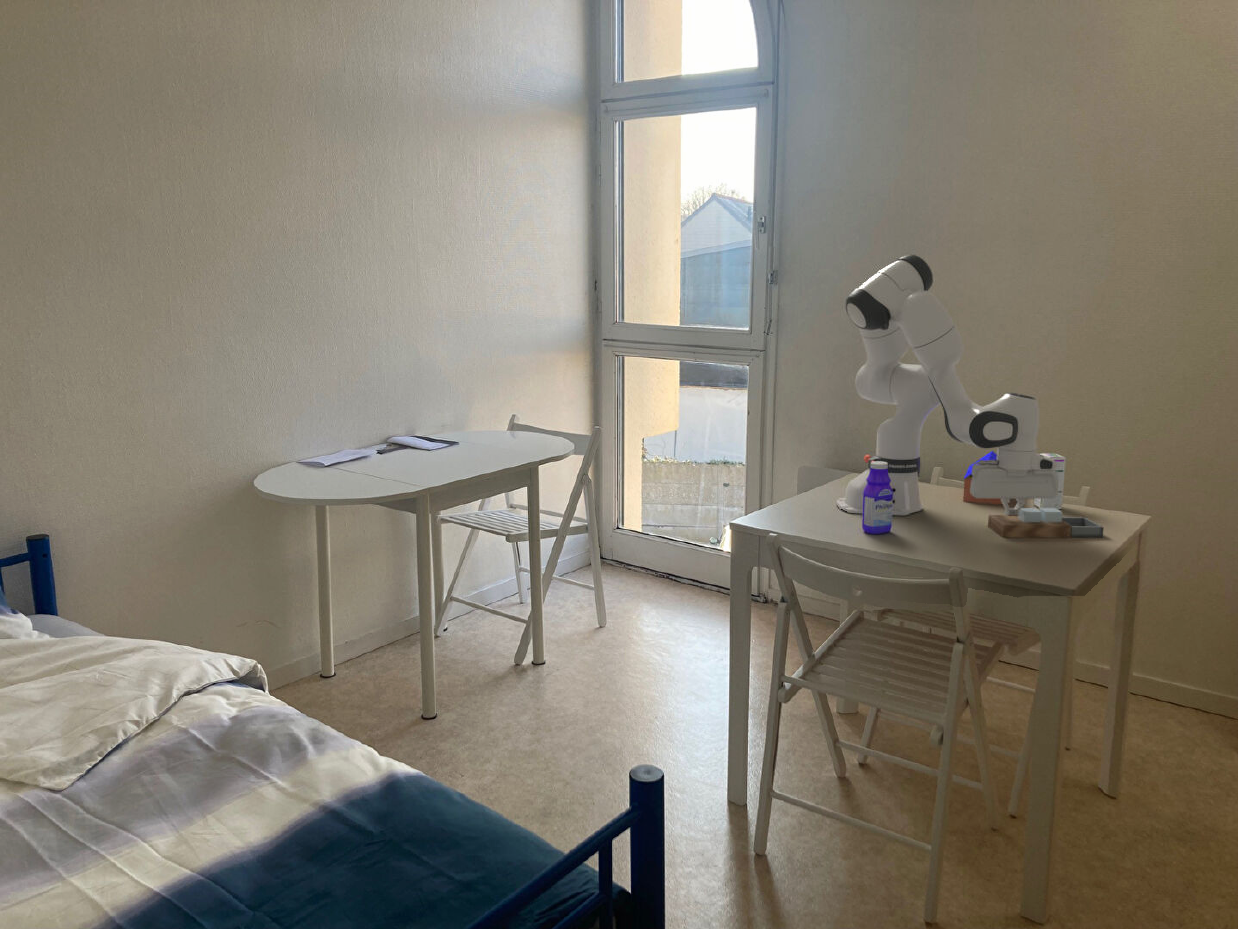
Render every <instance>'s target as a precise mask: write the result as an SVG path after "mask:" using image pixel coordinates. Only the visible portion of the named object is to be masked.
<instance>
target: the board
mask: <svg viewBox="0 0 1238 929" xmlns="http://www.w3.org/2000/svg"><path fill="white" fill-rule="evenodd" d="M987 522H988V523H987V527H988V528H989V529H990V530H992V531H993V532H995V533H996V534H997V535H999V536H1000V537H1002V538H1071V537H1070V533H1071V525H1070V524H1068V523H1066V522H1065V521H1063V520H1062V522H1044V521H1042V520H1041V522H1023V521H1022V520H1020V519H1018V516H1006V515H1005V514H988V520H987Z"/></svg>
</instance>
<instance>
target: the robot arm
mask: <svg viewBox="0 0 1238 929" xmlns="http://www.w3.org/2000/svg"><path fill="white" fill-rule="evenodd" d="M933 282H934V275H933V272H932V269H931V267H930V266H929V264H928V263H927V262H926V261H925V260H924V258H921V257H920V256H918V255H916V254H908V255H907V254H906V255H904V256H902V257H899V258H897V259H896V260H895V262H892V263H890V264H888V265H887V266H885V267H883V268H882V269H880V270H879V271H877V272H876V273H875V274H874V275H873V276H871V277H870V278H868V280H866V281H865V282H864V283H862V284H861V285H860V286H859V287H858V288H855V289H854V290H853V291H852V292H851V293H850V294H849V296H848V297H847V298H846V300H845V310H846V313H847V317H849V319H850V321H851V322H852V323H853V324H854V325H855V326H856V327H858V330H859V333H860V336H861V340H862V342H863V346H864V349H865V352H866V353H865V354H866V361H865V363H864V364H863V365H862V366H861V367H860V368H859V369H858V371H857V373H856V375H855V380H854V383H855V386H854V387H855V390H856V392H857V394H858V396H859V397H861V398H862V399H865V400H868V401H870V402H874V403H876V404H887V405H896V410H895V413H894V415H893V416H892V417H890V418H888V419H886V420H884V421H883V422H881V424H880V425H879V426H878V428H877V433H876V453H875V454H874V455H872V456H871V455H870V454H865V455H864V457H863V461H864V463H867V467H868V468H867V469H866V470H864V471H863V472H862V473H860V474H859V475H857V476H856V477H855V478H852V479H851V480H850V481H849V482H848V484H847V486H846V489H845V493H844V494H845V495H844V497H840V498H838V499H836V503H837V505H838V507H839V508H838V507H837V508H838V509H839V510H841V509H843V510H845V511H847V512H846V513H850V514H861V515H863V492H864V489H865V487H866V485H867V481H866V479H867V478H868V476H869V473H870V466H871V462H874V461H883V462H887V463H888V475H889V478H890V479H891V482H890V486H891V488H892V490H893V506H892V516H909V515H911V514H912V513H913V514H914V513H916V512H920V511H922V510H923V506H922V502H921V496H920V486H919V478H920V474H921V464H922V463H921V457H920V445H921V435H922V429H923V427H924V423H925V421H926V419H927V418H928V416H929V415H930V414H931V412H933V410H935V409H936V408H937V407H938V406H939V407H940V405H941V407H942V410H943V415H944V426H945V430H946V432H947V435H948V436H950V437H951V439H953V440H954V441H956V442H960V443H965V444H968V445H970V446H972V447H973V446H974V447H976V448H980V449H993V448H997V450H996V454H997V460H987V461H985V460H979V459H978V460H979V461H978V460H977V461H978V462H976V461H975V462H976V463H975V462H974V463H975V464H974V465H973V466H972V476H973V477H972V481H971V487H970V493H971V494H972V495H973V496H974V497H975V498H1001V502H1002V504H1003V505H1002V506H1003V507H1004V515H1006V516H1019V513H1020V509H1021V508H1023V507H1024V505H1025V504H1026V500H1027V499H1054V498H1055V497H1056V496H1057V495H1058V491H1059V479H1058V474H1057V472H1056V471H1055V469H1056V468H1057V462H1056V461H1054V460H1052V459H1050V458H1048V457H1045V456H1043V455H1040V454H1041V453H1037V452H1038V446H1037V436H1038V434H1039V429H1040V428H1039V427H1040V406H1039V402H1038V400H1037V399H1036V398H1035V397H1033V396H1030V395H1026V394H1021V393H1016V392H1006V393H1004V394H1003V396H1001V397H1000V398H998V399H997V400H995V401H994V402H991V403H988V404H986V405H979V404H977V403H976V402H974V401H973V400H972V399H971V398H970V397H969V396H968V394H967V392H966V390H965V389H964V386H963V384H962V382H961V380H960V377H959V375H958V374H957V370H956V365H957V364H958V363H959V362H960V360H961V359H962V357H963V354H964V350H965V349H964V348H965V346H964V342H963V339H962V335H961V333H960V332H959V329H958V327H957V326H956V324H955V323H954V320H953V319H952V316H950V314H949V312H948V310H947V309H946V308H945V307H944V305H943V304H942V303H941V301H940V300H939V298H937V297H936V295H934V293H932V292H931V291H929V290H930V289H931V287H932V286H933ZM909 349H911V351H912V353H913V354H914V356H915V357H916V359H917V361H918V362H919V363H920V364H912V363H910V364H909V363H903V362H901V361H900V360H901V358H903V357H904V356H905V355H906V354H907V353H908V351H909ZM976 464H980V465H976ZM985 464H988V465H985ZM1011 499H1016V500H1015V501H1016V502H1017V503H1015V504H1016V505H1015V506H1014V507H1010V506H1009V504H1010V502H1011ZM837 505H836V506H837ZM843 510H842V511H843ZM845 511H844V512H845Z"/></svg>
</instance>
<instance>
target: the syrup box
mask: <svg viewBox="0 0 1238 929" xmlns="http://www.w3.org/2000/svg"><path fill="white" fill-rule="evenodd" d="M1039 454H1040V455H1043V456H1045V457H1048V458H1050V459H1052V460H1054V461H1056V462H1057V468H1056V469H1055V471H1056V472H1057V474H1058V479H1059V491H1058V495H1057V496H1056V497H1055V498H1054V499H1033V502H1032V505H1033V506H1034V505H1035V506H1034V507H1036V508H1038V509H1039V508H1056V509H1063V498H1064V496H1063V495H1064V488H1065V487H1064V484H1065V472H1066V471H1065V469H1066V457H1065V456H1063V455H1060V454H1057V453H1052V452H1051V453H1045V452H1044V453H1039Z"/></svg>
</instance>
